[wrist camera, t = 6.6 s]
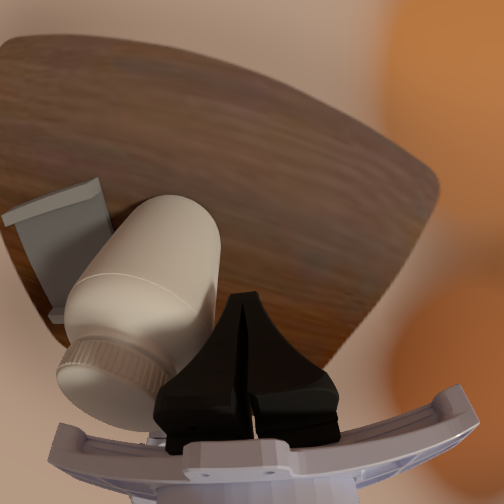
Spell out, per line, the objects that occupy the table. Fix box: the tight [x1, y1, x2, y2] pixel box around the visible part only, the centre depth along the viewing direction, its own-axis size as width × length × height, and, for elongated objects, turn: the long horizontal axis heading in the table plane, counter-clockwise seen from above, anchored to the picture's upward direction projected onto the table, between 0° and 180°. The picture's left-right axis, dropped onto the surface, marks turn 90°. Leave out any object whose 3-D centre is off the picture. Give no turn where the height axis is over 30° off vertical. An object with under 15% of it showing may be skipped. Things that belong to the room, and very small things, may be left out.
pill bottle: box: [56, 195, 221, 432], centre depth 15 cm, size 8×8×15 cm
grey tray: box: [1, 177, 115, 324], centre depth 21 cm, size 13×12×2 cm
